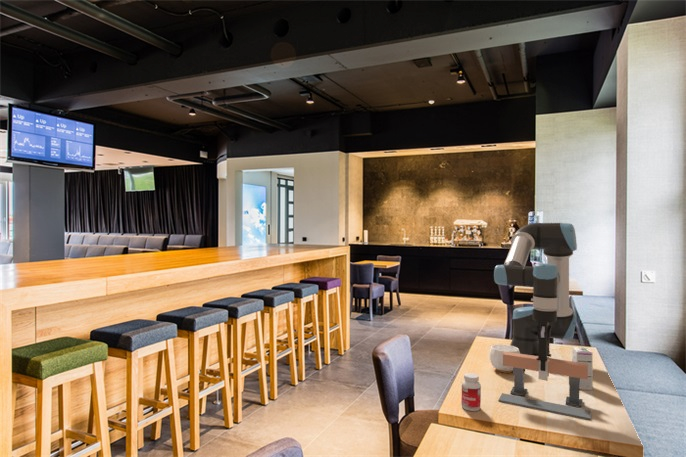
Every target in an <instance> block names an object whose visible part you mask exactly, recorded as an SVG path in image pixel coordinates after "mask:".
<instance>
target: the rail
mask: <svg viewBox="0 0 686 457" xmlns="http://www.w3.org/2000/svg"><path fill="white" fill-rule="evenodd" d="M537 358H538V356H532V355H526V354H519V353H512V352H506V351H505V352H504V353H503V366H509V367H515V368H521V369H525V370H526V371H533V372H534V371H535V372H539V360H537ZM547 359H548V360H547V361H548V373H549V374H553V375H557V376H558V375H559V376H564V377H568V378H569V377H576V378H582V379H588V364H586V363H580V362H573V361H572V360H565V359H559V358H551V357H549V358H547Z"/></svg>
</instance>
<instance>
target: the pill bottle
mask: <svg viewBox="0 0 686 457" xmlns="http://www.w3.org/2000/svg"><path fill="white" fill-rule="evenodd" d="M463 379H464V380H462V381H461V407H462V409H464V410H466V411H469V412H477V411H479V410H480V409H481V405H482V404H481V400H482V398H481V397H482V396H481V394H482V392H481V391H482V385H481V383H480V382H479V380H480V378H479V375H478V374H476V373H472V372H471V373H470V372H466V373H464V375H463Z"/></svg>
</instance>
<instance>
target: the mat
mask: <svg viewBox="0 0 686 457" xmlns="http://www.w3.org/2000/svg"><path fill="white" fill-rule="evenodd" d="M500 394H501V395H500V396H499V398H498V402H499V403H504V404H509V405H515V406H519V407H523V408H528V409H533V410H539V411H544V412H549V413H553V414H558V415H562V416H567V417H568V416H569V417H572V418H578V419H582V420H586V421H587V420H588V421H591V420H592V419H591V409H590V410H589V409H585V408H581V407H576V406H570V405H566V404H565V405H564V404H560V403H554V402H550V401H546V400H545V401H544V400H538V399H534V398H530V397H529V398H528V397H526V396H525V397H524V396H519V395H514V394H507V393H503V392H502V393H500Z"/></svg>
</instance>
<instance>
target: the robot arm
mask: <svg viewBox="0 0 686 457" xmlns="http://www.w3.org/2000/svg"><path fill="white" fill-rule="evenodd" d="M510 245H511V246H510V248H509V250H508V253H507V256H506V259H505V260H504V263H503V264H497V265H496V266H495V267H494V270H493V279H494V280H493V281H494V283H495V284H497V285H501V286H511V287H526V288H532V290H533V291H532V293H533V294H532V298H531V299H530V301H531V302H532V306H522V307H517V308H515V309H514V310H513V311H512V318H511V319H512V339H511V342H510V344H509V345H511V346H514V347H517V348H518V349H519V351H520V354H526V355H532V356H538V358H537V360H539V371H538V380H541V381H546V382H547V381H548V379H549V378H548V377H549V376H550V373H548V361H547V360H548V359H547V358H551V357H552V354H551V353H550V351H551V350H550V340H551V339H558V340H562V341H563V340H568V341H569V340H572V339H574V335H575V330H576V323H577V314H575V313H574V310H573V309H572V308H571V307H570V257H572V255H574V252H575V251H577V249H578V244H577V236H576V229H575V227H574V225H573V224H572V223H568V222H567V223H566V222H565V223H564V222H531V223H528V224H525V225H524V226H522V227H520V228H519V229H517V230H516V231H515V232H514V234H513V235H512V237H511V240H510ZM532 250H542V252H543V255H544V256H545V257H546V258H547V259H546V263H543V262H539V263H535V264H534V265H533V266H527V265H526V264H527V261H528V258H529V255H530V252H531V251H532Z"/></svg>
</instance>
